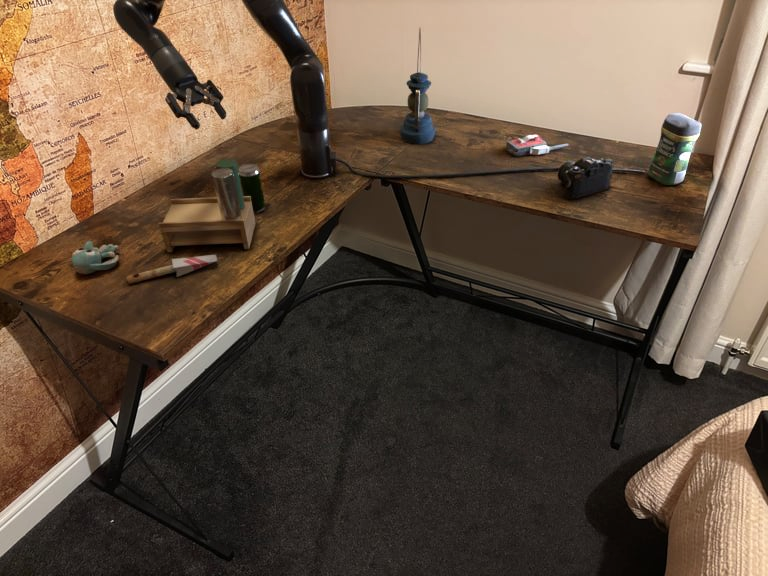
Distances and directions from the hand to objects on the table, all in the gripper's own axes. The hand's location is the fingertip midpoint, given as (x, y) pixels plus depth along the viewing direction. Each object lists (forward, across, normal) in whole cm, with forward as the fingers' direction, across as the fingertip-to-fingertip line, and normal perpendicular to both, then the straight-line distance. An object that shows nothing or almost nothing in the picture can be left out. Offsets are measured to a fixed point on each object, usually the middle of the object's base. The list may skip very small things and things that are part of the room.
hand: (211, 122), depth 144 cm
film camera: (+71, +62, -41) cm, 102 cm away
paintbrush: (+29, -32, +2) cm, 43 cm away
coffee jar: (+84, +82, -54) cm, 129 cm away
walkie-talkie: (+56, +79, -26) cm, 100 cm away
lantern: (+30, +65, 0) cm, 72 cm away
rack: (+25, -16, +6) cm, 31 cm away
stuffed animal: (+16, -40, +15) cm, 46 cm away
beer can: (+24, 0, +7) cm, 25 cm away
